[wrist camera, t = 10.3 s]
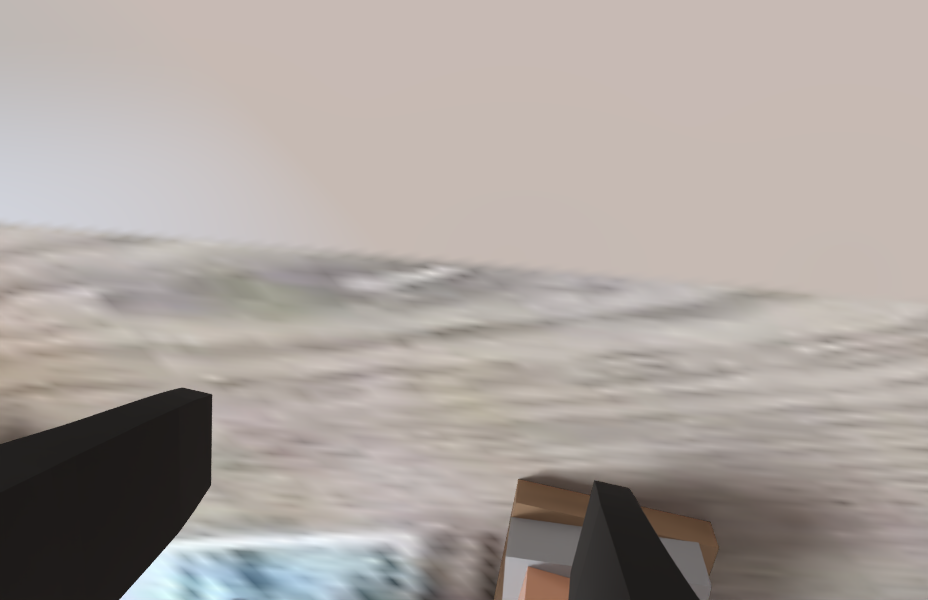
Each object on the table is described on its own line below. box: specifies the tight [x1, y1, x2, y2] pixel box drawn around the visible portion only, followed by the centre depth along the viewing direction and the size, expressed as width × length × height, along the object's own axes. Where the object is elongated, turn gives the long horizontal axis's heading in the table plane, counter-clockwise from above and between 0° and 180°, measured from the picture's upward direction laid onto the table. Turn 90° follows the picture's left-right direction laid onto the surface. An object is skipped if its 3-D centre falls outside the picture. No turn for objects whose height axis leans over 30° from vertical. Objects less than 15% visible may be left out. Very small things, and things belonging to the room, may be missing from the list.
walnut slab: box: [494, 479, 719, 600], centre depth 23 cm, size 7×7×2 cm
